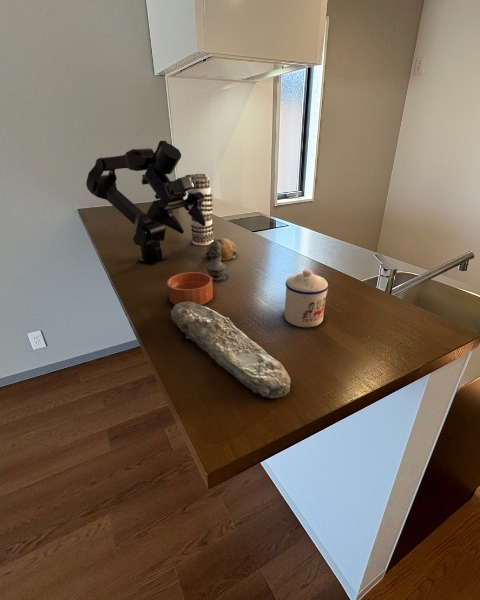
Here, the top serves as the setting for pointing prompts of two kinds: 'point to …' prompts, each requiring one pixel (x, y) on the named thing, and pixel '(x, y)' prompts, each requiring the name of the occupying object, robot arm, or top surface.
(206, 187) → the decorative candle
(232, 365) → the elongated rock
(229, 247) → the bread roll
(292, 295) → the teacup with lid
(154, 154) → the robot arm
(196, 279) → the bowl
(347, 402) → the top surface
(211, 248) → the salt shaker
